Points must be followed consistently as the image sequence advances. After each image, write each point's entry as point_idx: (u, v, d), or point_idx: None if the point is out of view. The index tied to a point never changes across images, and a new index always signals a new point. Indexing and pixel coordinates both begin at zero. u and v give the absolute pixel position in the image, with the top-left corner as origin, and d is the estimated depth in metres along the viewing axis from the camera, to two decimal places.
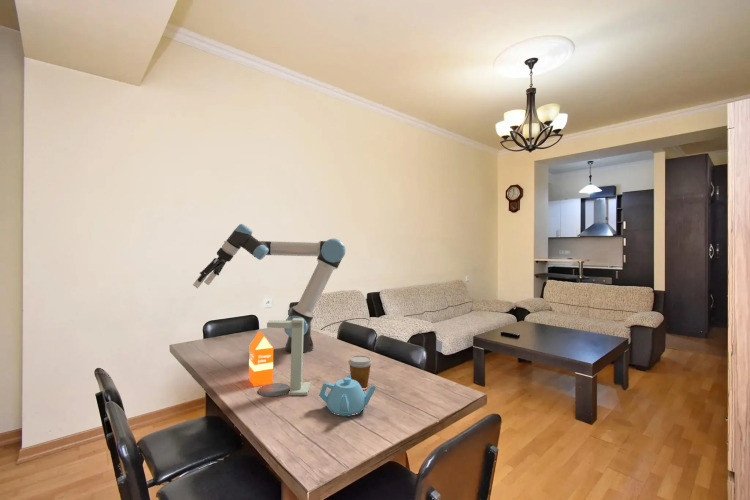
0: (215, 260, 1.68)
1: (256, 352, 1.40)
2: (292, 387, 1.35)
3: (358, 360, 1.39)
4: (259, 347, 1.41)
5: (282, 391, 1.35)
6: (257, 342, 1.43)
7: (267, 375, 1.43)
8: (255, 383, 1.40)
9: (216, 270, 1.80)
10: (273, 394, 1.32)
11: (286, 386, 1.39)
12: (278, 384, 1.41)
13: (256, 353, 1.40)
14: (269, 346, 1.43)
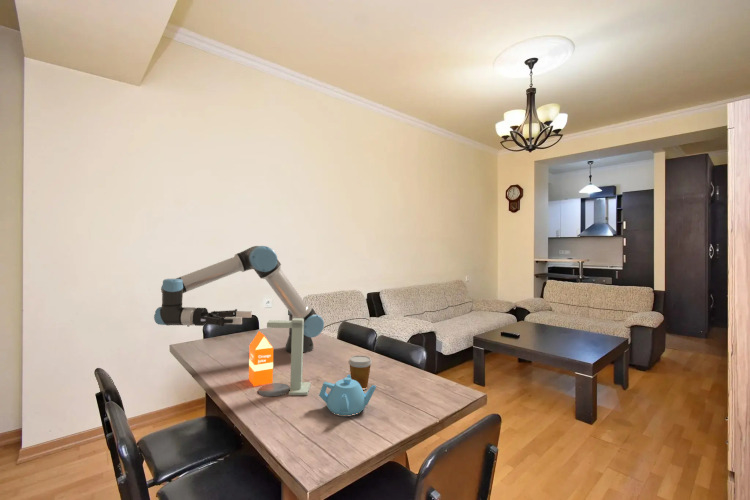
0: (202, 320, 1.41)
1: (256, 352, 1.40)
2: (292, 387, 1.35)
3: (358, 360, 1.39)
4: (259, 347, 1.41)
5: (282, 391, 1.35)
6: (257, 342, 1.43)
7: (267, 375, 1.43)
8: (255, 383, 1.40)
9: (230, 314, 1.54)
10: (273, 394, 1.32)
11: (286, 386, 1.39)
12: (278, 384, 1.41)
13: (256, 353, 1.40)
14: (269, 346, 1.43)
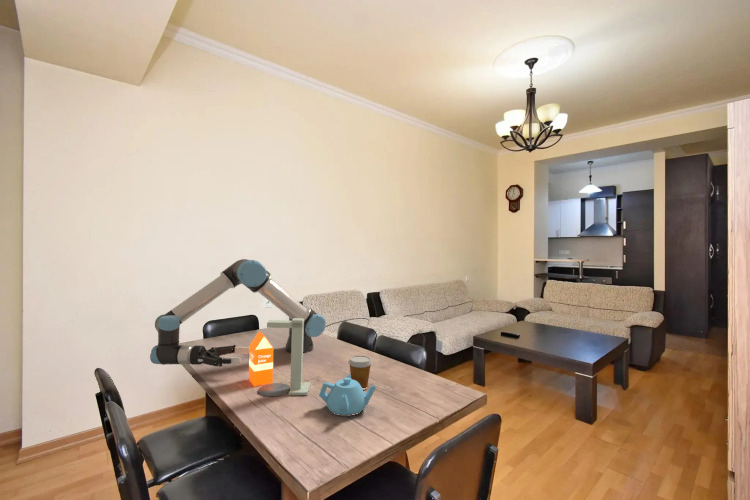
0: (199, 360, 1.37)
1: (256, 352, 1.40)
2: (292, 387, 1.35)
3: (358, 360, 1.39)
4: (259, 347, 1.41)
5: (282, 391, 1.35)
6: (257, 342, 1.43)
7: (267, 375, 1.43)
8: (255, 383, 1.40)
9: (228, 350, 1.49)
10: (273, 394, 1.32)
11: (286, 386, 1.39)
12: (278, 384, 1.41)
13: (256, 353, 1.40)
14: (269, 346, 1.43)
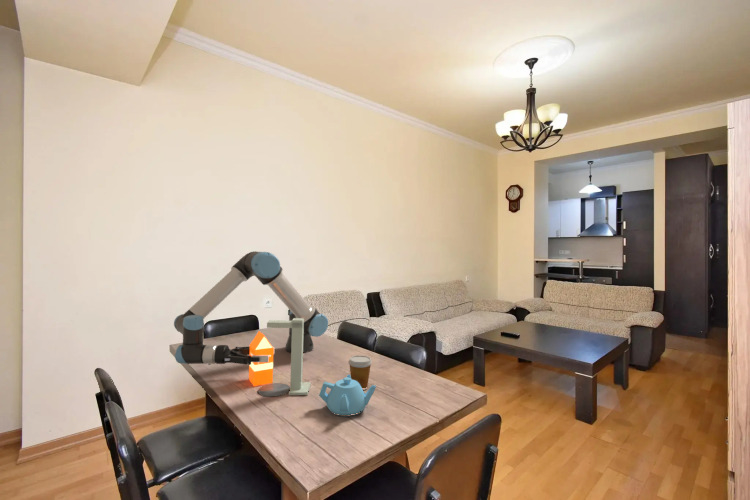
0: (226, 360, 1.38)
1: (256, 352, 1.40)
2: (292, 387, 1.35)
3: (358, 360, 1.39)
4: (259, 347, 1.41)
5: (282, 391, 1.35)
6: (257, 342, 1.42)
7: (267, 375, 1.43)
8: (255, 383, 1.40)
9: None
10: (273, 394, 1.32)
11: (286, 386, 1.39)
12: (278, 384, 1.41)
13: (256, 353, 1.40)
14: (269, 346, 1.43)
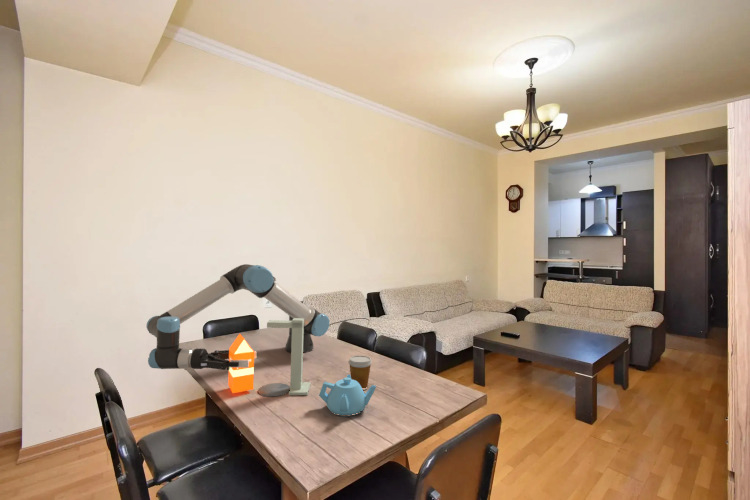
0: (202, 365, 1.28)
1: (235, 356, 1.30)
2: (292, 387, 1.35)
3: (358, 360, 1.39)
4: (238, 351, 1.31)
5: (282, 391, 1.35)
6: (236, 346, 1.33)
7: (247, 381, 1.33)
8: (234, 390, 1.30)
9: None
10: (273, 394, 1.32)
11: (286, 386, 1.39)
12: (278, 384, 1.41)
13: (235, 357, 1.30)
14: (249, 350, 1.33)
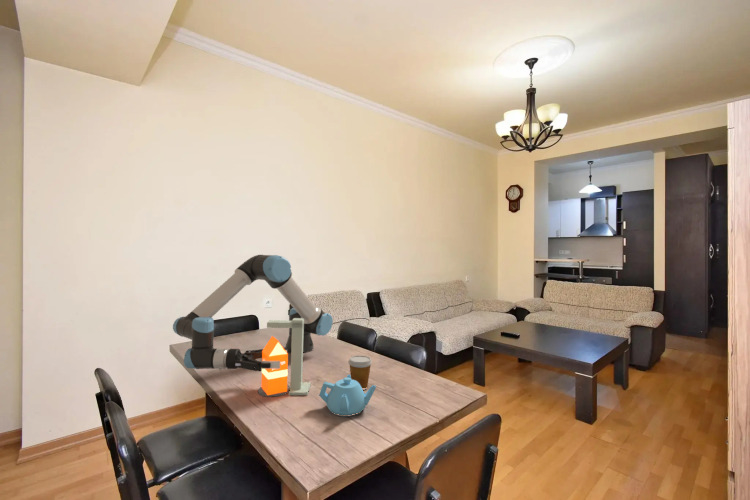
0: (237, 365, 1.29)
1: (270, 359, 1.31)
2: (292, 387, 1.35)
3: (358, 360, 1.39)
4: (273, 353, 1.32)
5: None
6: (271, 348, 1.34)
7: (281, 383, 1.34)
8: (269, 392, 1.31)
9: None
10: (273, 394, 1.32)
11: None
12: None
13: (270, 360, 1.31)
14: (283, 352, 1.34)
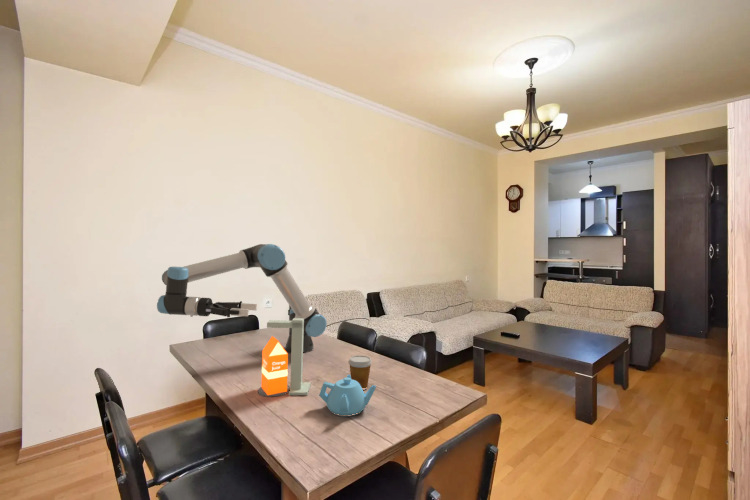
0: (207, 310, 1.37)
1: (270, 359, 1.31)
2: (292, 387, 1.35)
3: (358, 360, 1.39)
4: (273, 353, 1.32)
5: None
6: (271, 348, 1.34)
7: (281, 383, 1.34)
8: (269, 392, 1.31)
9: (234, 305, 1.50)
10: (273, 394, 1.32)
11: None
12: None
13: (270, 360, 1.31)
14: (283, 352, 1.34)
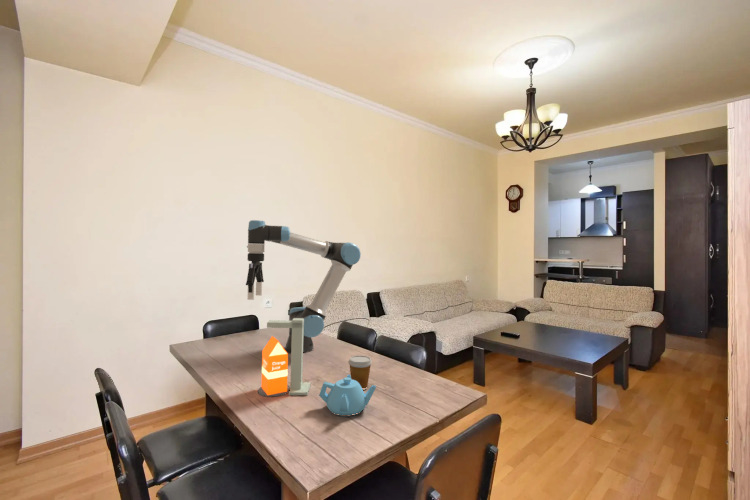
0: (251, 265, 1.59)
1: (270, 359, 1.31)
2: (292, 387, 1.35)
3: (358, 360, 1.39)
4: (273, 353, 1.32)
5: None
6: (271, 348, 1.34)
7: (281, 383, 1.34)
8: (269, 392, 1.31)
9: (258, 277, 1.71)
10: (273, 394, 1.32)
11: None
12: None
13: (270, 360, 1.31)
14: (283, 352, 1.34)
